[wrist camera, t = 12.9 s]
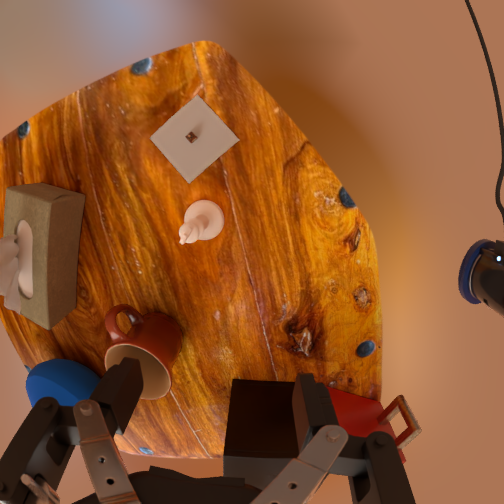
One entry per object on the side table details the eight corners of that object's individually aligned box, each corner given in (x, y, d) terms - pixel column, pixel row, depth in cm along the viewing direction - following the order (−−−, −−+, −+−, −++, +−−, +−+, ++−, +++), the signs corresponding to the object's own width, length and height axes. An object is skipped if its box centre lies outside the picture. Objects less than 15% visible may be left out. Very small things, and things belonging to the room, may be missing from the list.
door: (330, 353, 39) (356, 426, 25) (400, 379, 40) (434, 437, 26) (306, 384, 40) (320, 457, 26) (376, 405, 42) (402, 464, 28)
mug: (200, 347, 39) (185, 394, 29) (152, 360, 40) (130, 403, 30) (160, 275, 36) (129, 308, 26) (113, 295, 37) (77, 328, 27)
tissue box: (76, 309, 38) (18, 361, 23) (35, 289, 38) (-24, 329, 22) (86, 192, 33) (4, 209, 18) (41, 180, 33) (-36, 192, 18)
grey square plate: (188, 183, 33) (185, 184, 31) (149, 138, 31) (143, 136, 30) (239, 140, 31) (238, 137, 30) (197, 94, 30) (194, 90, 28)
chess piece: (231, 213, 34) (221, 229, 24) (211, 247, 35) (193, 274, 25) (197, 192, 33) (173, 199, 24) (177, 226, 34) (148, 245, 25)
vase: (124, 363, 41) (73, 446, 22) (130, 426, 45) (100, 496, 27) (42, 330, 40) (-19, 386, 21) (58, 395, 45) (18, 451, 26)
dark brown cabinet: (303, 381, 40) (316, 457, 26) (288, 439, 45) (293, 503, 30) (232, 378, 40) (223, 455, 26) (230, 436, 45) (223, 501, 30)
